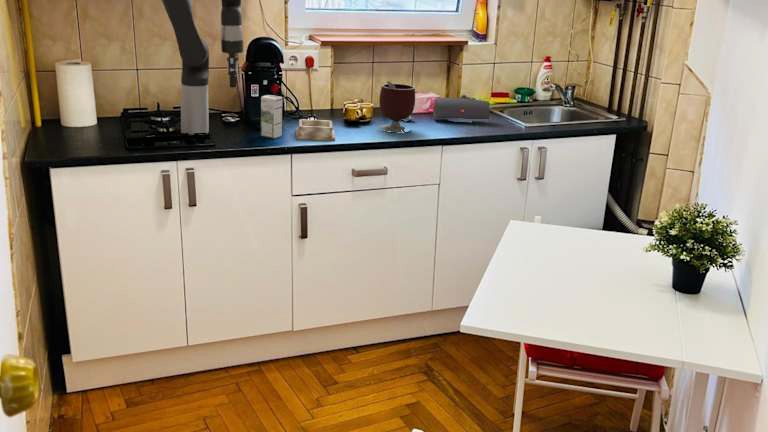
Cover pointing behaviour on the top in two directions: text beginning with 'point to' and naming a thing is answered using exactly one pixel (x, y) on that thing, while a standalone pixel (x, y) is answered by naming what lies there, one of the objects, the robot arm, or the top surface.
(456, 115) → the bluetooth speaker
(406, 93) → the mate gourd
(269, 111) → the syrup box
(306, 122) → the beige square tray
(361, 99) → the tin
